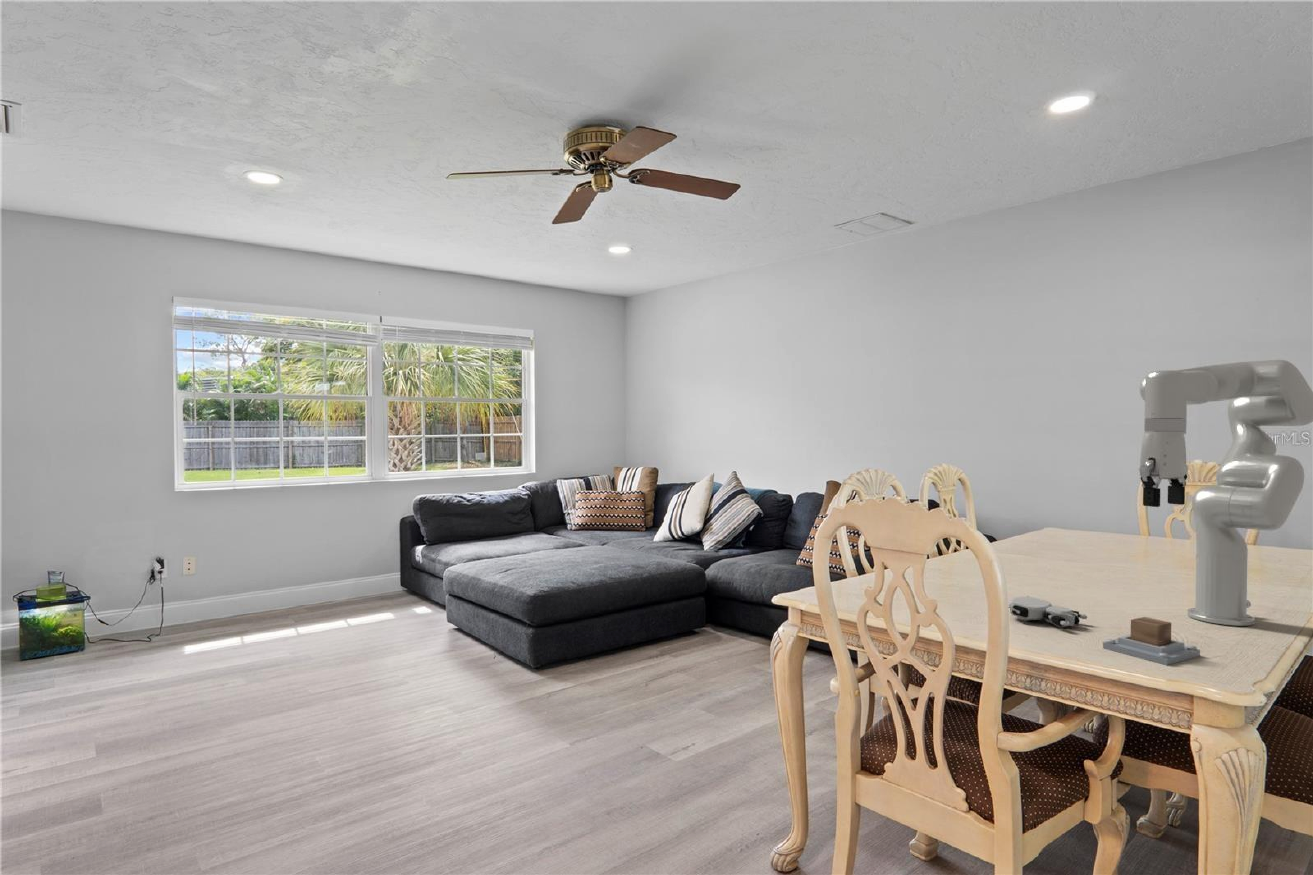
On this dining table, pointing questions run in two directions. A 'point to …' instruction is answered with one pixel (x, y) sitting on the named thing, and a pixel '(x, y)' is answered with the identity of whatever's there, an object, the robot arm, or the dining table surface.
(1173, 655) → the base plate
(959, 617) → the dining table surface
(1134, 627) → the walnut cube
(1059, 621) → the robot toy
